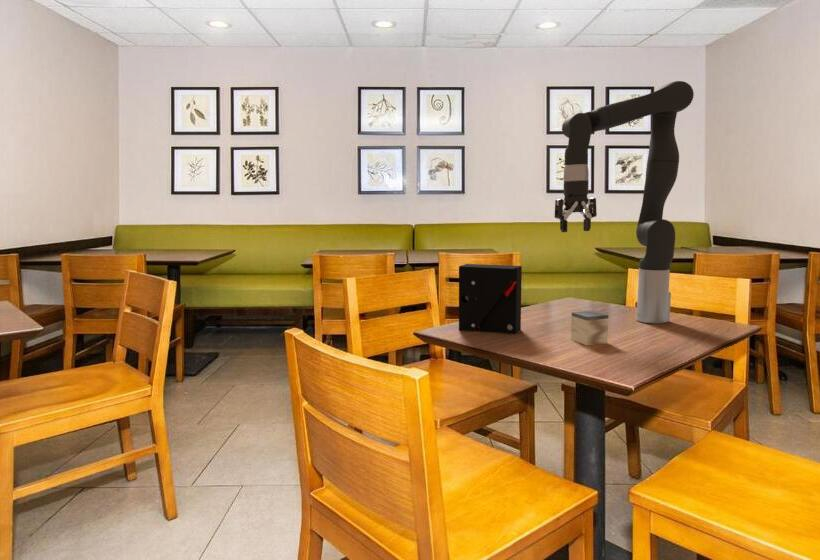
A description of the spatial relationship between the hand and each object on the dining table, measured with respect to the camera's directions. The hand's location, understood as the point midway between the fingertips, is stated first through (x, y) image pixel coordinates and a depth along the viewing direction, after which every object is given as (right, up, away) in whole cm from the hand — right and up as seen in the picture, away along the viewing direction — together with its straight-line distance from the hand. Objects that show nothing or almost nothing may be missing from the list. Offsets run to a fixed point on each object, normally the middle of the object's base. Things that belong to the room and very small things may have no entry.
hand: (575, 231), depth 175 cm
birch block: (-2, -25, -21) cm, 32 cm away
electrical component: (-28, -31, -4) cm, 42 cm away
